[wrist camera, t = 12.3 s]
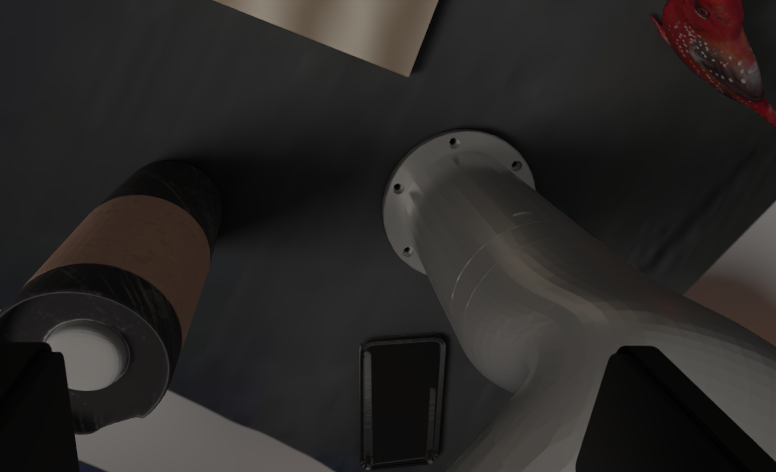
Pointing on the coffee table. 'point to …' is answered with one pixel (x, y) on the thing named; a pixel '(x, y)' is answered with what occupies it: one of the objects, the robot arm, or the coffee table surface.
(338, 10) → the dial board
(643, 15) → the coffee table surface
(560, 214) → the robot arm
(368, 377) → the phone
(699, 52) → the decorative bird figurine
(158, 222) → the travel mug
